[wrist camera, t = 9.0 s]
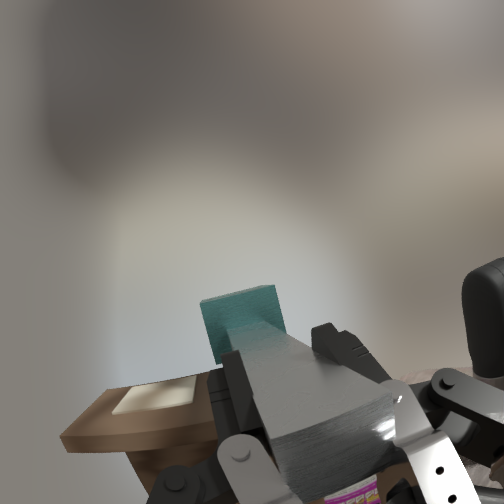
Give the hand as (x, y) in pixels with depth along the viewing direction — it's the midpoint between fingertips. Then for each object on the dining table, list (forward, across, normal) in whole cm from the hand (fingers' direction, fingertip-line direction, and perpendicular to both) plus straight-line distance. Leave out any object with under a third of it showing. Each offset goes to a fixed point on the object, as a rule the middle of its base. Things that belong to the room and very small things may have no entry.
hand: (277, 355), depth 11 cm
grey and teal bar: (+4, 0, +5) cm, 7 cm away
